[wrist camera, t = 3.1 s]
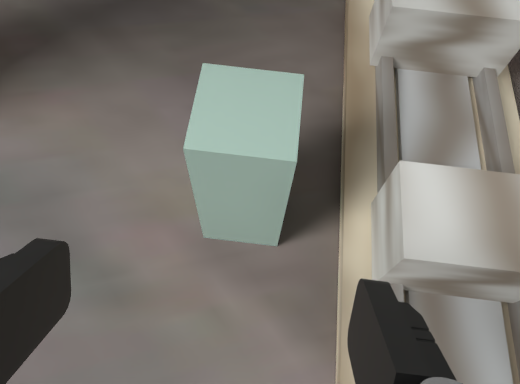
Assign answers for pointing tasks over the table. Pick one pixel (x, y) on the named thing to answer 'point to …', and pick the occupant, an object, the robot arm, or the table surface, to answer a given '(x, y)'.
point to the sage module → (243, 151)
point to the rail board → (434, 175)
